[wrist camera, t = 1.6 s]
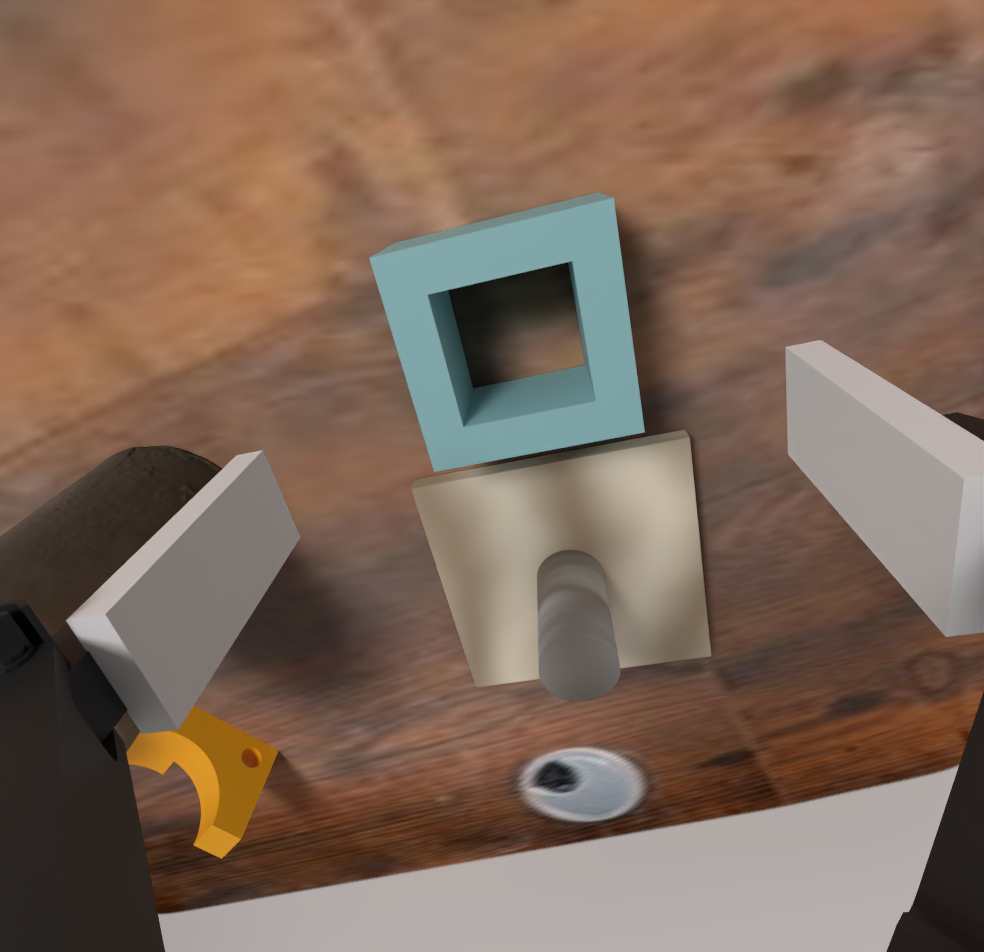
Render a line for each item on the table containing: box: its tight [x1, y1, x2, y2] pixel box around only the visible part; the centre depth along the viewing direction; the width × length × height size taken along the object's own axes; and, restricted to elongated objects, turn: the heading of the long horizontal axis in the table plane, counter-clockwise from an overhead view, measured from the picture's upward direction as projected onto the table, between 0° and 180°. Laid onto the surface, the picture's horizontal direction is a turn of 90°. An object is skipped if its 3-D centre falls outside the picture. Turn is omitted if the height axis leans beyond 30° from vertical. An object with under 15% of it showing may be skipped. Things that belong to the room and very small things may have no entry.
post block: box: [411, 429, 711, 701], centre depth 31 cm, size 14×14×8 cm
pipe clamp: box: [127, 706, 278, 858], centre depth 39 cm, size 12×4×6 cm, turn 52°
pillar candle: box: [0, 446, 221, 753], centre depth 28 cm, size 10×10×15 cm
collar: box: [369, 192, 645, 472], centre depth 26 cm, size 9×9×5 cm
